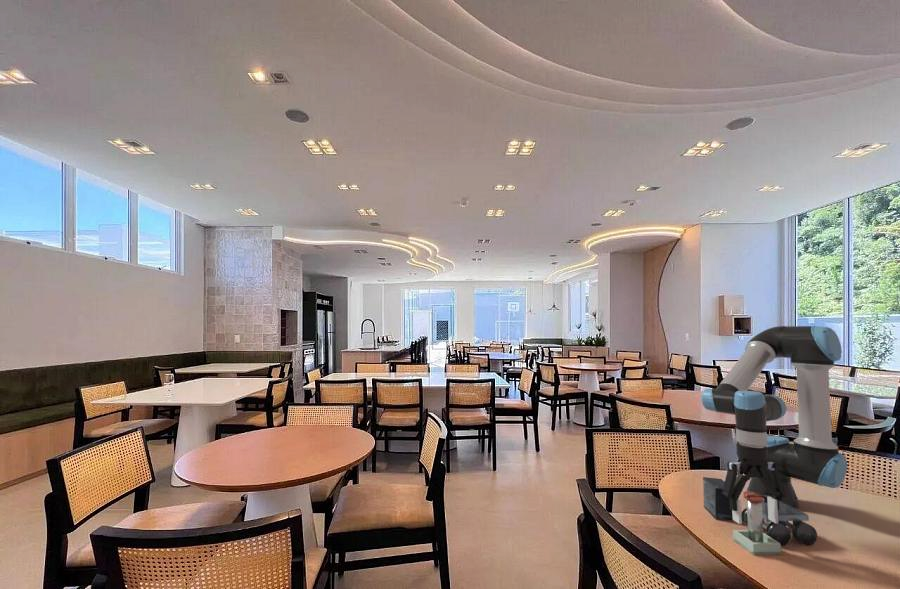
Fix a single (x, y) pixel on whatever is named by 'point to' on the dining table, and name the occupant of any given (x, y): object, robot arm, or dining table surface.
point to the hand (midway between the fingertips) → (755, 521)
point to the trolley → (786, 524)
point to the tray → (757, 544)
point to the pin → (754, 516)
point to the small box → (716, 499)
